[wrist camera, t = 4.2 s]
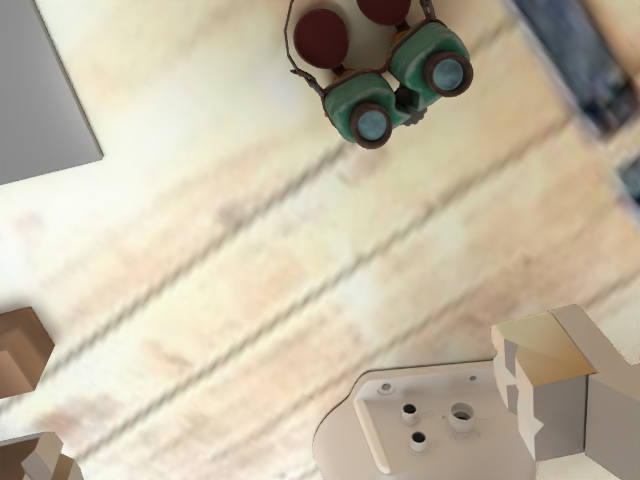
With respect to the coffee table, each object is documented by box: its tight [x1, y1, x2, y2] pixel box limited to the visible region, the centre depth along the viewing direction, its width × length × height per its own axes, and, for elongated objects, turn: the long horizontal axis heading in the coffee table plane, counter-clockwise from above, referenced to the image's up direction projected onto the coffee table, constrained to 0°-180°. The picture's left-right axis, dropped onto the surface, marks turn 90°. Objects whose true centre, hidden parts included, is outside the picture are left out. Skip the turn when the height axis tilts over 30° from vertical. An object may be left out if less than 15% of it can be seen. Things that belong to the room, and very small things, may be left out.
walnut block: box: [0, 307, 55, 399], centre depth 42 cm, size 4×4×5 cm
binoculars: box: [284, 0, 473, 149], centre depth 31 cm, size 9×11×10 cm
